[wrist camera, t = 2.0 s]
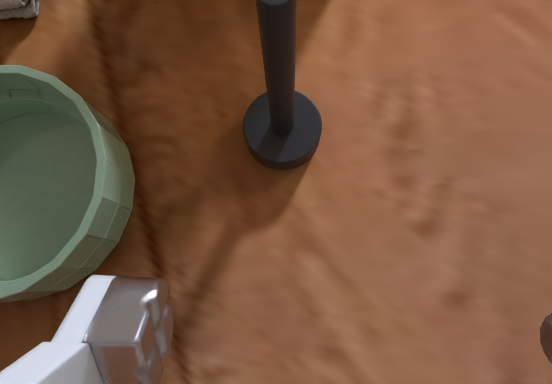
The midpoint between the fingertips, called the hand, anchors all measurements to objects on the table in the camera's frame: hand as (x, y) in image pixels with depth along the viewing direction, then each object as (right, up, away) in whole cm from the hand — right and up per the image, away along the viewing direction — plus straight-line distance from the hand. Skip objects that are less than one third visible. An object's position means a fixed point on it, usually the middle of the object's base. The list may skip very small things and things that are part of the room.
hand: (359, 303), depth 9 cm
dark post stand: (-1, +7, +22) cm, 23 cm away
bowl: (-20, +2, +22) cm, 30 cm away
